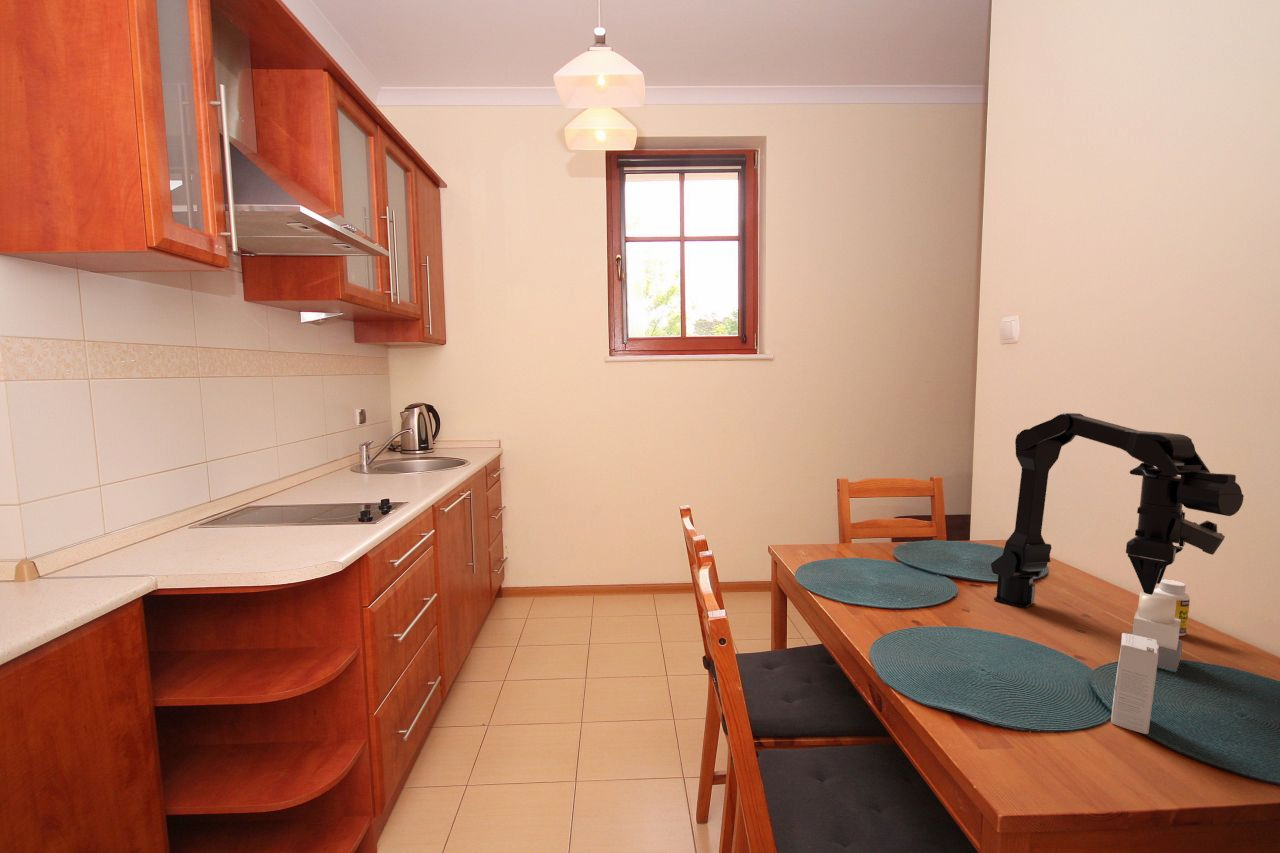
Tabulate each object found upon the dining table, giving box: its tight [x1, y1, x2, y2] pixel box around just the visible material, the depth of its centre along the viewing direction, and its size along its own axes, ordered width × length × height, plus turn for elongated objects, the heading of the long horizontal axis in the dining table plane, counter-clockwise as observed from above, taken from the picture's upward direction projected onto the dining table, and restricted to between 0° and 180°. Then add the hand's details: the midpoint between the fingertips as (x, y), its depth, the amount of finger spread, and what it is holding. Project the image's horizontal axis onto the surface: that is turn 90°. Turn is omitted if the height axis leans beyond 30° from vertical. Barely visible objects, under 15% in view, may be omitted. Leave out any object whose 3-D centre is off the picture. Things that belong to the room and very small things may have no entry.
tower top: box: [1132, 609, 1181, 651], centre depth 107 cm, size 6×6×4 cm
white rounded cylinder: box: [1137, 591, 1177, 624], centre depth 107 cm, size 5×5×4 cm
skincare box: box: [1110, 632, 1159, 735], centre depth 86 cm, size 6×4×12 cm
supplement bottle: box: [1154, 578, 1191, 637], centre depth 121 cm, size 6×6×10 cm
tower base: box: [1129, 628, 1184, 671], centre depth 108 cm, size 7×7×4 cm
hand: (1152, 588), depth 108 cm, fingers open, 9 cm apart
